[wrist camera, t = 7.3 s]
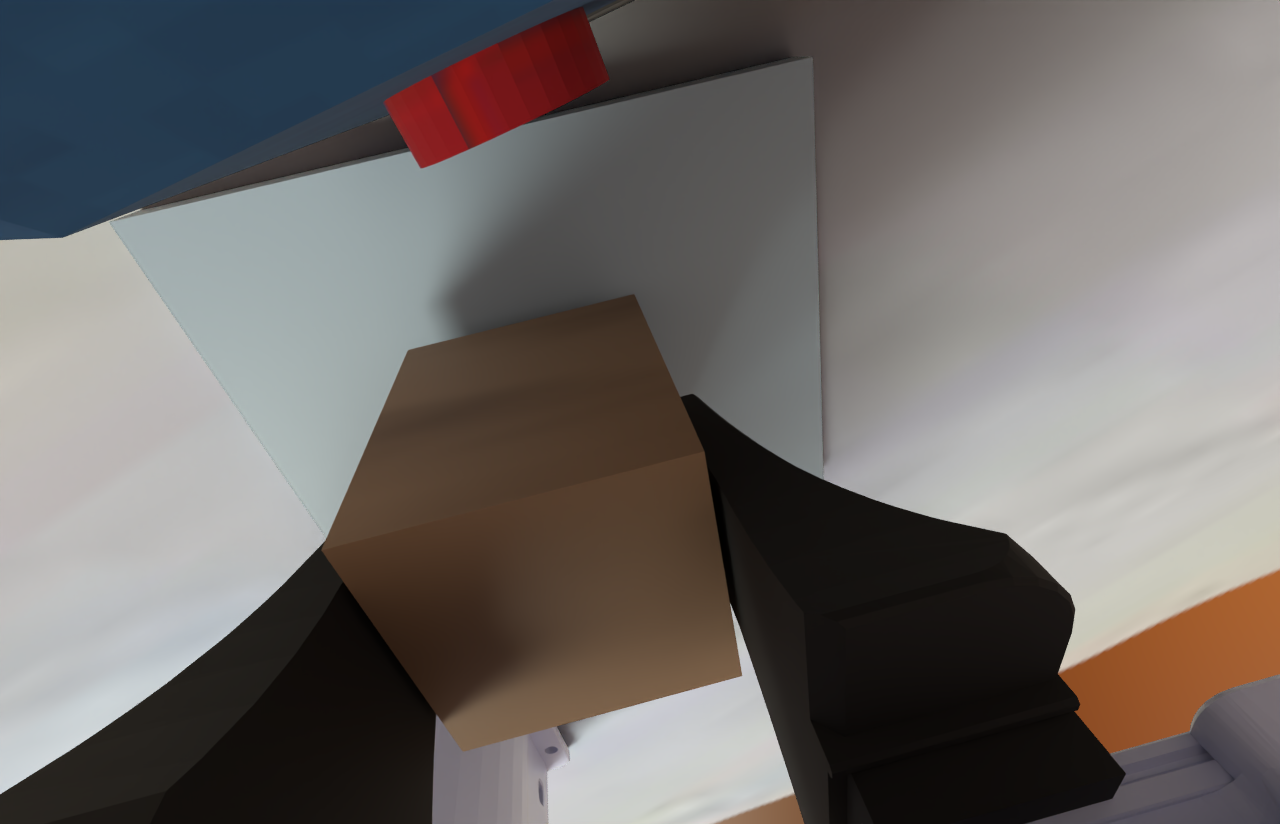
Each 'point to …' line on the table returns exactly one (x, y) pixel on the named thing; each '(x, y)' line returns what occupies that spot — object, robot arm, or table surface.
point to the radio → (258, 89)
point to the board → (514, 264)
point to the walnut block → (539, 527)
